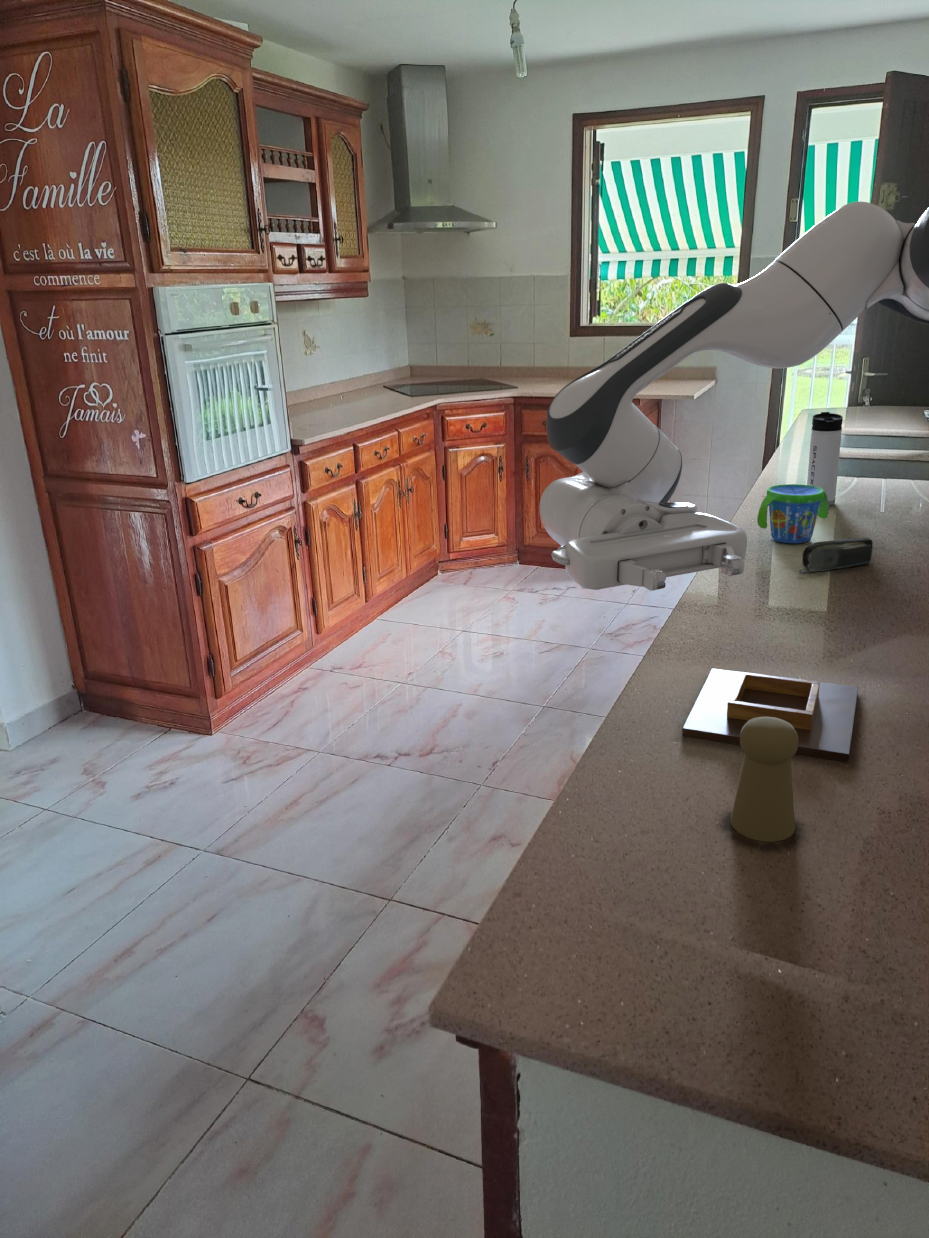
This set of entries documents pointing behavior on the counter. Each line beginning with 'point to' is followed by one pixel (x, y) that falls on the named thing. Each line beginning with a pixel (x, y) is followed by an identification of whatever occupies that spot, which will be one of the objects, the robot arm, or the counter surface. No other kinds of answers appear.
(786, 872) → the counter surface
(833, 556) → the dark grey stapler
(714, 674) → the pad
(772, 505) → the snack cup
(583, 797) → the counter surface
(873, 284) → the robot arm
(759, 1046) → the counter surface
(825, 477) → the travel mug
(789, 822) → the cork
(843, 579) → the counter surface
